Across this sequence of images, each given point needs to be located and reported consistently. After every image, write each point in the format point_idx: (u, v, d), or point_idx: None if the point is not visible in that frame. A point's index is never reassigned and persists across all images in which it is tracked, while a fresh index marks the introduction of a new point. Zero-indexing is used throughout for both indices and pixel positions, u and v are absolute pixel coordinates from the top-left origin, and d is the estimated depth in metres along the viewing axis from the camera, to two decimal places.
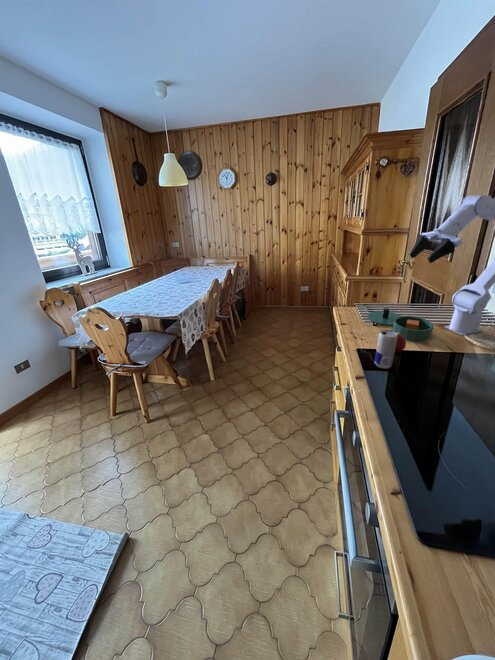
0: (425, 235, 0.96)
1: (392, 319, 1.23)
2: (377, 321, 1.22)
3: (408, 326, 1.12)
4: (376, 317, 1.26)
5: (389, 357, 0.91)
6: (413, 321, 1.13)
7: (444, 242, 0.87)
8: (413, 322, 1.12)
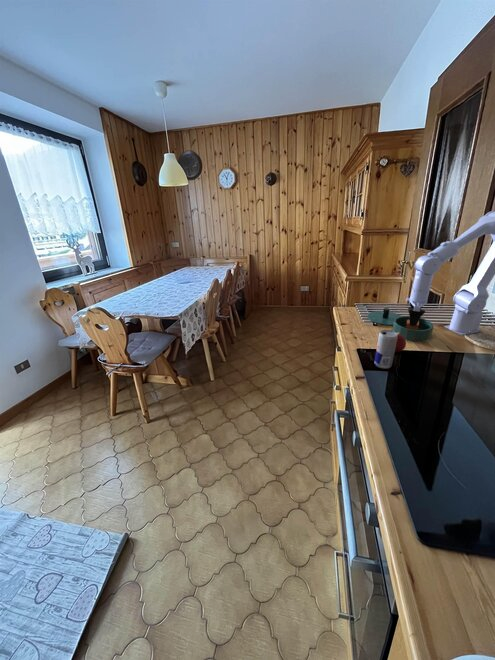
0: None
1: (392, 319, 1.23)
2: (377, 321, 1.22)
3: (408, 326, 1.12)
4: (376, 317, 1.26)
5: (389, 357, 0.91)
6: None
7: (408, 311, 1.07)
8: None
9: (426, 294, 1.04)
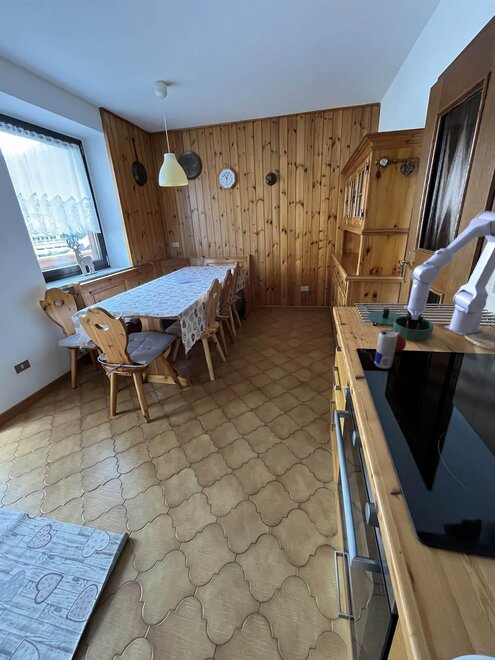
0: None
1: (392, 319, 1.23)
2: (377, 321, 1.22)
3: None
4: (376, 317, 1.26)
5: (389, 357, 0.91)
6: None
7: (407, 318, 1.09)
8: None
9: (424, 302, 1.06)
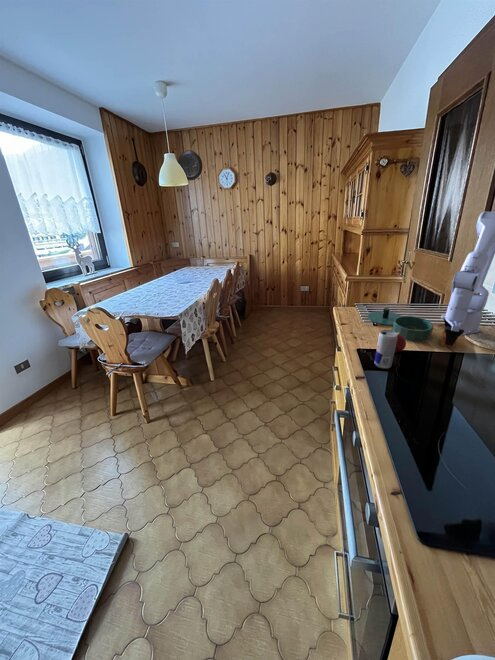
0: None
1: (392, 319, 1.23)
2: (377, 321, 1.22)
3: (444, 339, 1.02)
4: (376, 317, 1.26)
5: (389, 357, 0.91)
6: None
7: (445, 331, 0.98)
8: None
9: (465, 312, 0.96)
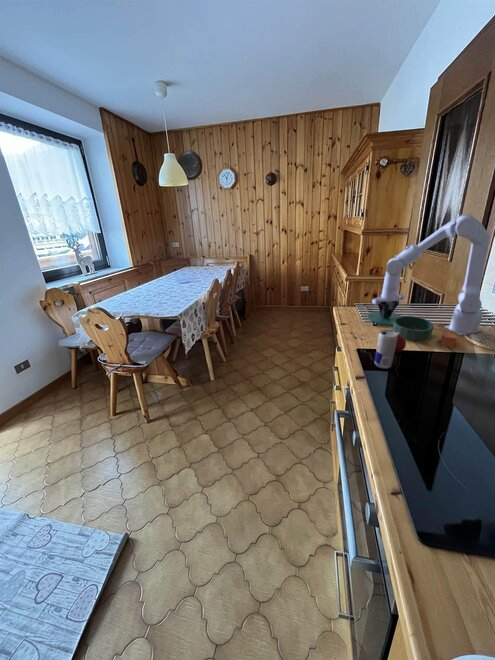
0: None
1: (392, 319, 1.23)
2: (377, 321, 1.22)
3: (444, 339, 1.02)
4: (376, 317, 1.26)
5: (389, 357, 0.91)
6: (450, 334, 1.03)
7: None
8: (450, 335, 1.02)
9: (389, 292, 1.17)
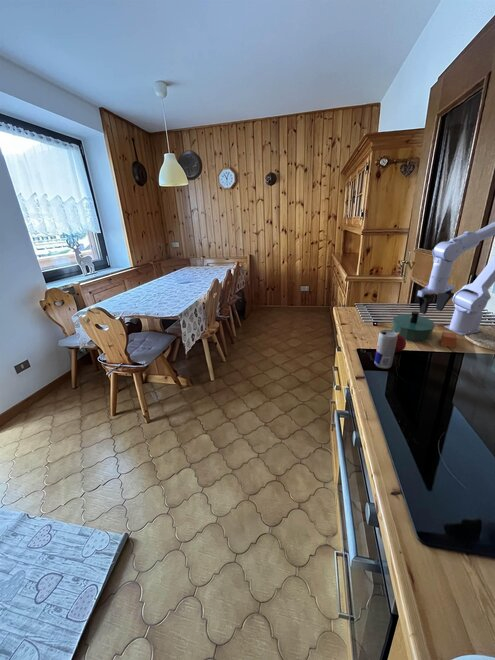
0: None
1: (422, 324, 1.08)
2: (405, 326, 1.07)
3: (444, 339, 1.02)
4: (403, 322, 1.11)
5: (389, 357, 0.91)
6: (450, 334, 1.03)
7: None
8: (450, 335, 1.02)
9: (439, 282, 1.00)
